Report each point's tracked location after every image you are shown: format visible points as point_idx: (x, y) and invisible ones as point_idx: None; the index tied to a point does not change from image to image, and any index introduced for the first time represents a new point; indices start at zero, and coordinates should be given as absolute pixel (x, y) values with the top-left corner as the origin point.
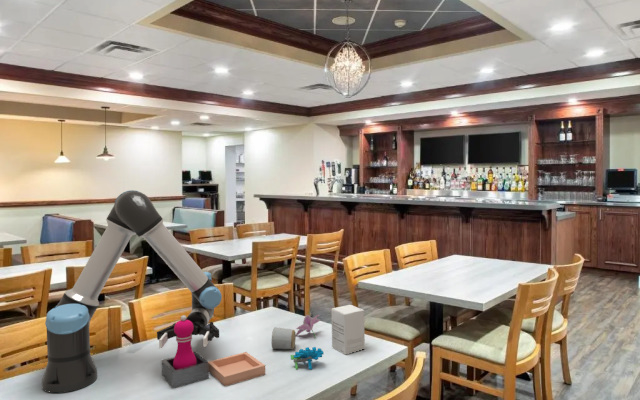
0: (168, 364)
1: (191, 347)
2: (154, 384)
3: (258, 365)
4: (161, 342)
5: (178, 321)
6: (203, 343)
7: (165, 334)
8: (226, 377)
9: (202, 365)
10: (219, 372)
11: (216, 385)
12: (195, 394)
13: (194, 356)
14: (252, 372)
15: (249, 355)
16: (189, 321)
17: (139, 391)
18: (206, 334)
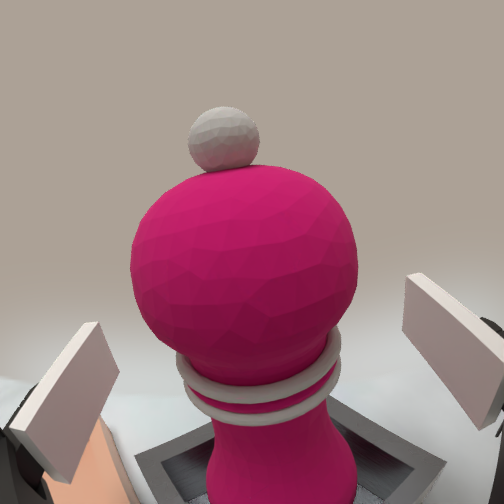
0: (364, 430)
1: (215, 440)
2: (396, 431)
3: None
4: (406, 294)
5: (291, 170)
6: (110, 353)
7: (474, 331)
8: None
9: (166, 445)
10: (105, 438)
11: (135, 441)
12: None
13: (207, 466)
14: None
15: None
16: (160, 197)
17: (411, 384)
18: (55, 370)
